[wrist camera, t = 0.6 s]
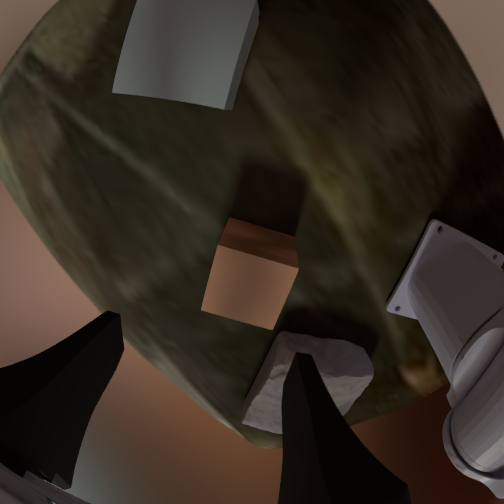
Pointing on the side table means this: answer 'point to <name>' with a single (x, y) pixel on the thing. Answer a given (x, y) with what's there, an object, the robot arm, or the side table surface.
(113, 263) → the side table surface
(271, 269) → the terracotta cube
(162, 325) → the side table surface
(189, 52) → the top block
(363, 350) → the stone block
